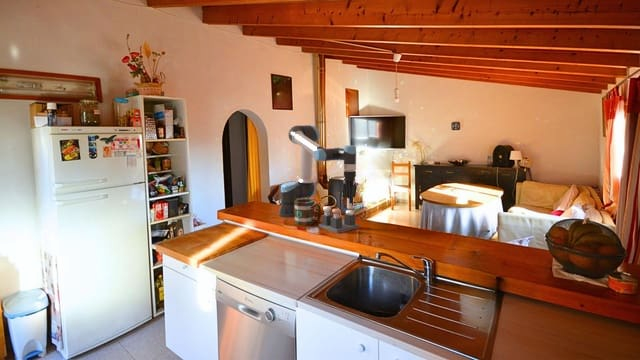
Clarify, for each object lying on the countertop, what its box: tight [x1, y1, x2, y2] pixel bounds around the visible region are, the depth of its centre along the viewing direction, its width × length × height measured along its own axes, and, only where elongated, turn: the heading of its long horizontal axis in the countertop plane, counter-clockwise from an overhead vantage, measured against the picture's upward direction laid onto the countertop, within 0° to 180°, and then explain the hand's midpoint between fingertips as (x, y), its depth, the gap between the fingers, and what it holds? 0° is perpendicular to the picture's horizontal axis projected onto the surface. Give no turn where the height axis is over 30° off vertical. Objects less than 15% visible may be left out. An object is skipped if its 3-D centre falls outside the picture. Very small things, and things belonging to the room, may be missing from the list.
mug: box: [294, 198, 321, 227], centre depth 227 cm, size 20×14×15 cm
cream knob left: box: [345, 209, 355, 216], centre depth 217 cm, size 5×5×8 cm
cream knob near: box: [322, 205, 332, 216], centre depth 217 cm, size 5×5×8 cm
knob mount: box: [318, 214, 360, 234], centre depth 218 cm, size 18×18×8 cm
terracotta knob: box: [331, 208, 341, 218], centre depth 210 cm, size 5×5×8 cm
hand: (349, 208), depth 217 cm, fingers closed
